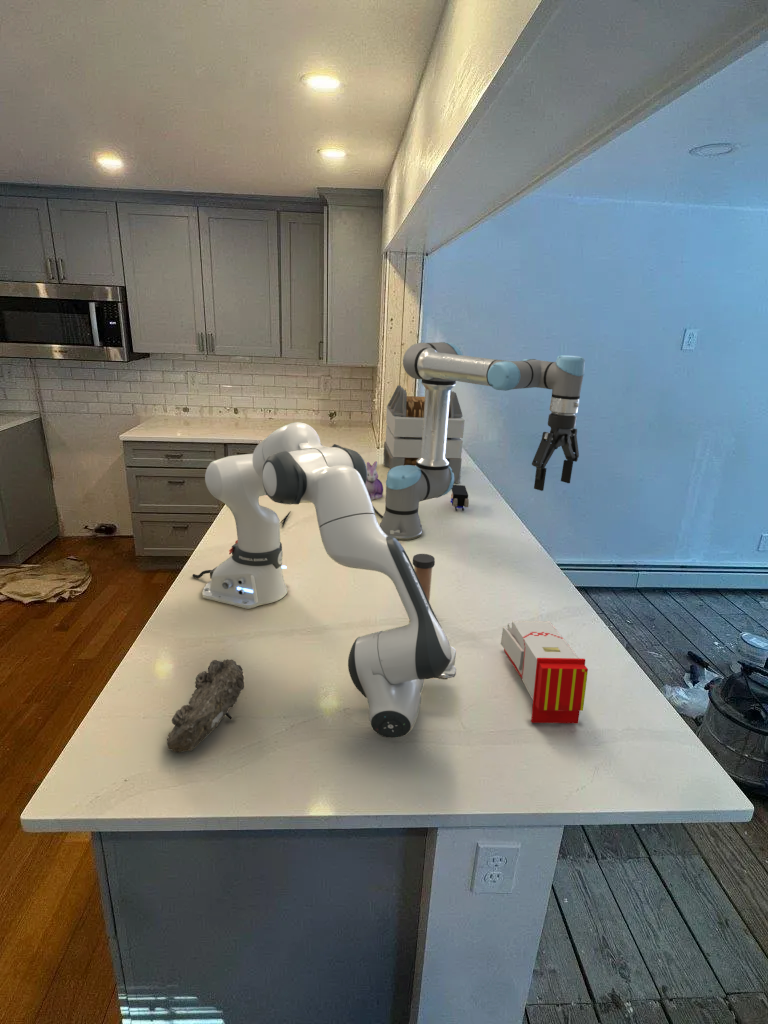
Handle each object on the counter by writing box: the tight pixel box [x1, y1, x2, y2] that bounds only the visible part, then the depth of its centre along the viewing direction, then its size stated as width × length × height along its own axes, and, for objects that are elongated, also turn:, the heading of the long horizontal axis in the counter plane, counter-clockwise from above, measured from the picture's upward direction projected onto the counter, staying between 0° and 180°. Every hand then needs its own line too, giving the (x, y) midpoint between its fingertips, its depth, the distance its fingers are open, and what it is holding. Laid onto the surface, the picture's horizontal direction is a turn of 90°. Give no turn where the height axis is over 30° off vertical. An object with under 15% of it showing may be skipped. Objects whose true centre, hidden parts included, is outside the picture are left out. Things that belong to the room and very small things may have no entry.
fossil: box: [166, 658, 245, 754], centre depth 106 cm, size 22×10×15 cm
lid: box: [412, 553, 436, 569], centre depth 144 cm, size 6×6×2 cm
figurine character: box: [449, 484, 470, 512], centre depth 229 cm, size 7×8×15 cm
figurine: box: [365, 460, 384, 501], centre depth 235 cm, size 9×10×15 cm
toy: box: [500, 620, 589, 724], centre depth 121 cm, size 12×13×30 cm
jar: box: [413, 565, 433, 604], centre depth 147 cm, size 5×5×15 cm
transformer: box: [383, 384, 465, 484], centre depth 268 cm, size 34×33×41 cm
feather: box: [280, 510, 292, 528], centre depth 213 cm, size 2×28×2 cm
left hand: (411, 635), depth 126 cm, fingers open, 8 cm apart
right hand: (552, 485), depth 166 cm, fingers open, 13 cm apart
